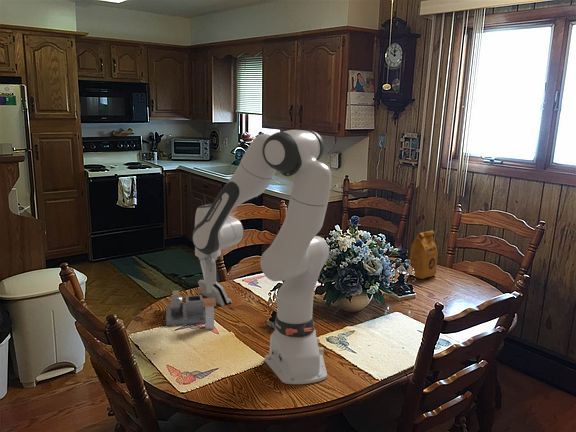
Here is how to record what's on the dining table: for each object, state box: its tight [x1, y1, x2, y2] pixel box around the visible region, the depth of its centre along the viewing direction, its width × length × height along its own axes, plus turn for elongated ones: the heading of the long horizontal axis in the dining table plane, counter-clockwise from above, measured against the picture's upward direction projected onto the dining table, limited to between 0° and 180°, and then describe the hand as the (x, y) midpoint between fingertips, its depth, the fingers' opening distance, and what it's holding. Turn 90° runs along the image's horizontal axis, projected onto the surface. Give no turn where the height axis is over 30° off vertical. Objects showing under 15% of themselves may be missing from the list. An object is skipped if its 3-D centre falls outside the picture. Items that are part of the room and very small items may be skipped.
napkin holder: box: [197, 277, 233, 307], centre depth 200 cm, size 17×5×10 cm, turn 39°
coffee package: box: [409, 230, 438, 280], centre depth 231 cm, size 10×12×22 cm
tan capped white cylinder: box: [202, 297, 217, 331], centre depth 175 cm, size 4×4×10 cm
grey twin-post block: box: [165, 289, 205, 327], centre depth 184 cm, size 16×14×8 cm
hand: (208, 287), depth 173 cm, fingers open, 8 cm apart
